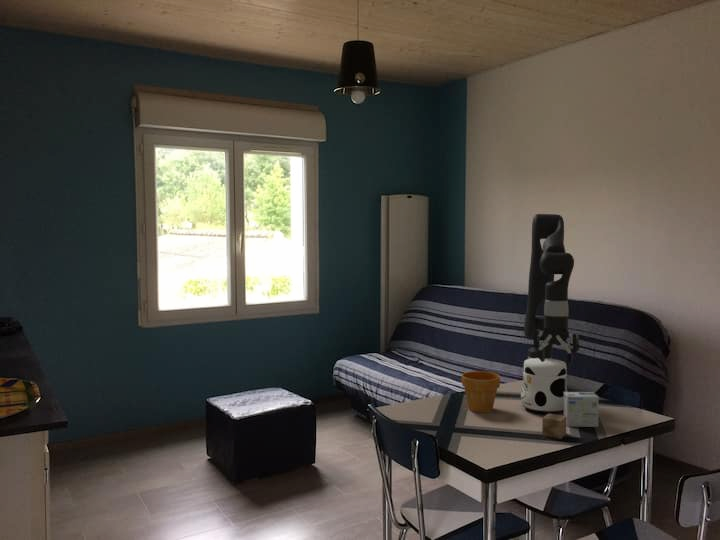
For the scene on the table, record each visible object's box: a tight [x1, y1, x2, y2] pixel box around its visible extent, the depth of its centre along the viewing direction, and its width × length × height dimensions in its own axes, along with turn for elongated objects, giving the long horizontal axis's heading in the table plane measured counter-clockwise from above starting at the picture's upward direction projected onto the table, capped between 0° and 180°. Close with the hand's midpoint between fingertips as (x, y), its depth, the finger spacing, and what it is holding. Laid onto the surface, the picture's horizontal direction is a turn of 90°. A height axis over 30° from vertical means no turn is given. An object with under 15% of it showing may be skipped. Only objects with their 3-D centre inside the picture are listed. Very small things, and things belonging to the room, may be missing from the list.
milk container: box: [520, 358, 569, 414], centre depth 230 cm, size 17×17×18 cm
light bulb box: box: [563, 391, 599, 428], centre depth 213 cm, size 11×7×11 cm, turn 84°
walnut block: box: [541, 413, 567, 440], centre depth 202 cm, size 6×6×6 cm
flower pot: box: [461, 370, 501, 413], centre depth 231 cm, size 14×14×13 cm
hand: (555, 362), depth 201 cm, fingers open, 8 cm apart
